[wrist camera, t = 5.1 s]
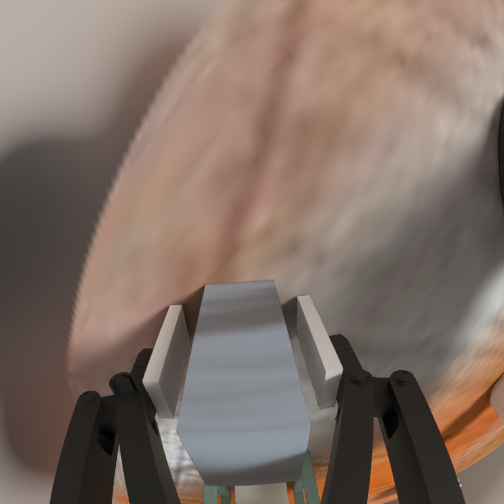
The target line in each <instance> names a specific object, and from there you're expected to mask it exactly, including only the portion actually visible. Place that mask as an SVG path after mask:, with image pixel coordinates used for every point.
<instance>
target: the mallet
mask: <svg viewBox="0 0 504 504" xmlns="http://www.w3.org/2000/svg"><path fill="white" fill-rule="evenodd" d="M310 430H311V421H310V417H309V413H308V409H307V405H306V401H305V397H304V393H303V389H302V385H301V381H300V377H299V373H298V369H297V366H296V362H295V358H294V354H293V350H292V346H291V342H290V339H289V335H288V331H287V327H286V323H285V320H284V316H283V312H282V308H281V304H280V301H279V297H278V293H277V290H276V286H275V282H274V280H264V281H251V282H237V283H223V284H207V285H205V289H204V294H203V298H202V303H201V307H200V312H199V316H198V321H197V326H196V330H195V335H194V340H193V345H192V350H191V355H190V360H189V365H188V370H187V375H186V380H185V386H184V391H183V396H182V402H181V407H180V413H179V419H178V425H177V431H176V432H177V434H178V436H179V438H180V440H181V442H182V444H183V446H184V447H185V449H186V451H187V453H188V455H189V457H190V458H191V460H192V462H193V464H194V466H195V467H196V469H197V471H198V472H199V474H200V476H201V477H202V479H203V481H204V482H205V484H206V485H207V486H249V485H265V484H276V483H285V482H293V481H300V478H301V474H302V469H303V465H304V460H305V455H306V451H307V446H308V441H309V435H310Z"/></svg>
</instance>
